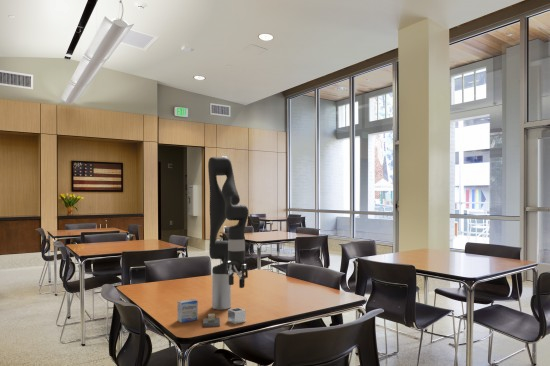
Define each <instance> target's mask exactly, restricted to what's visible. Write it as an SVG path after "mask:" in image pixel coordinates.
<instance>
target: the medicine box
mask: <svg viewBox="0 0 550 366" xmlns="http://www.w3.org/2000/svg"><path fill="white" fill-rule="evenodd" d="M198 302H199V301H198V300H197V299H195V298H193V299H192V298H191V299H186V300H179V301H177V317H176V318H177V322H179V323H181V324H184V323H189V322H193V321H197V320H198V309H199V308H198V305H199V304H198Z"/></svg>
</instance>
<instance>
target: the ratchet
mask: <svg viewBox="0 0 550 366" xmlns="http://www.w3.org/2000/svg"><path fill="white" fill-rule="evenodd" d="M202 321H203V322H202V327H203V328H209V327H210V328H211V327H221V322H220V321H221V319H220V317H216V313H208V314H207V317H206V318H203V319H202Z"/></svg>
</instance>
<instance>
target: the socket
mask: <svg viewBox="0 0 550 366" xmlns="http://www.w3.org/2000/svg"><path fill="white" fill-rule="evenodd" d="M246 315H247V314H246V309H243V308H241V307H234V308H228V309H227V322H229V323H231V324H234V325H237V324H241V323H245V322H246Z"/></svg>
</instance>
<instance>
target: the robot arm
mask: <svg viewBox="0 0 550 366" xmlns="http://www.w3.org/2000/svg"><path fill="white" fill-rule="evenodd" d="M207 168H208V170H207V171H208V182H209V183H208V184H209V225H210V226H209V231H210V232H209V247H208V248H209V249H208V250H209V257H210V259H211V260H223V262H222V263H220V264H218V265H217V264H216V265H215V266H213V267H212V276H211V279H212V280H211V281H212V282H211V284H212V288H211V289H212V290H211V292H212V293H211V295H212V297H211V300H212V301H211V303H212V305H211V308H212V309H213V310H219V311H220V310H223V311H224V310H228V309H231V308H232V306H231V305H232V302H231V301H232V298H231V297H232V290H231V289H232V286H234V284H235V281H234V278H235V277H234V276H235V274H236V276H238V279H239V281H238V282H239V284H238V287H239V288H240V289H243V288H245V285H246V284H245V283H246V281H245V279H247V278H248V277H249V273H248V271H249V269H248V268H249V267H248V263H244V261H245V259H246V242H245V229H246V225H247V221H248V217H249V209H248V207H247V205H246V204H240V200H241V199H240V195H239V193H238V190H237V186H236V183H235V182H236V181H235V176H234V170H233V165H232V161H231V159H230V157H227V156H226V157H225V156H212V157H209V159H208V164H207ZM217 176H222V177H223V176H225V177H226V179H225V181H224V183H223V185H222V189H221V187H220V186H219V183H218V179H217ZM226 220H227V221H238V222H237V223H236V224H234V225H231V226H229V227H228V240H217V238H218V234H219V232H220V230H221V228H222V226H223V224H224V223H225V222H226Z"/></svg>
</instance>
